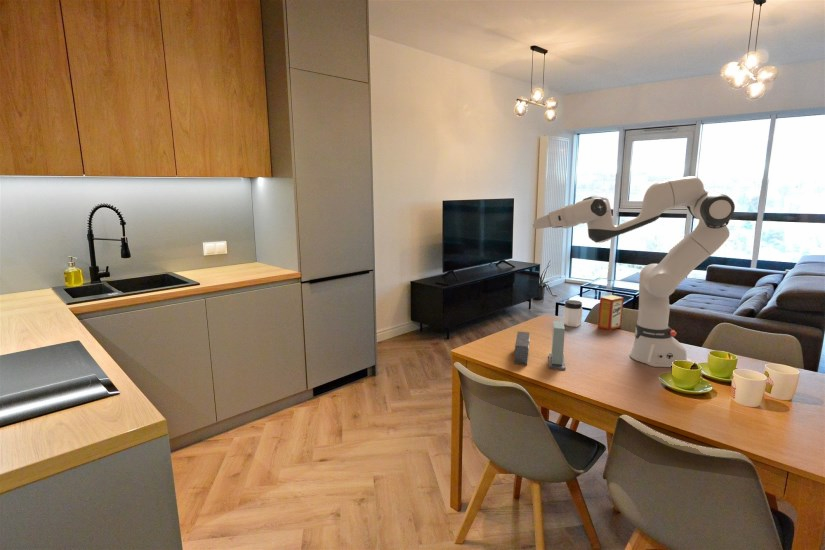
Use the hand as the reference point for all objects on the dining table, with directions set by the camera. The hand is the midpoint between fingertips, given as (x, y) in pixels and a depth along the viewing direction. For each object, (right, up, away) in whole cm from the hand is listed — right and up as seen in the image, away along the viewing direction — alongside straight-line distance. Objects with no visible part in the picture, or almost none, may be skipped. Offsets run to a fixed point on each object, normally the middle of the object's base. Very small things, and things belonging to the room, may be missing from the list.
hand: (541, 224), depth 192 cm
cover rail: (+3, -58, -12) cm, 59 cm away
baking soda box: (+44, -49, +32) cm, 73 cm away
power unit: (-10, -57, -5) cm, 58 cm away
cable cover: (+3, -57, -12) cm, 58 cm away
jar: (+27, -48, +37) cm, 66 cm away
